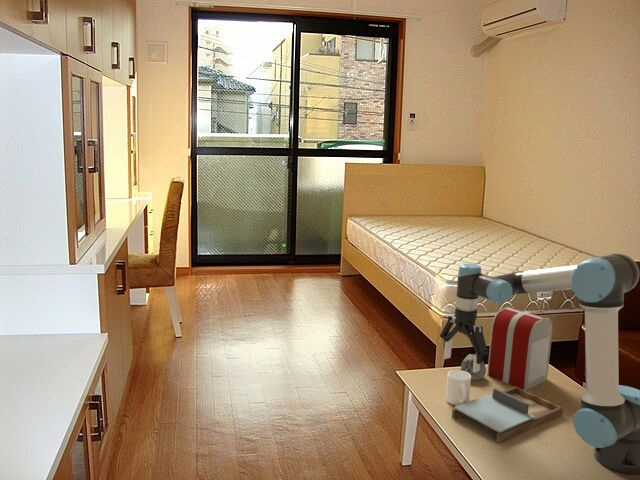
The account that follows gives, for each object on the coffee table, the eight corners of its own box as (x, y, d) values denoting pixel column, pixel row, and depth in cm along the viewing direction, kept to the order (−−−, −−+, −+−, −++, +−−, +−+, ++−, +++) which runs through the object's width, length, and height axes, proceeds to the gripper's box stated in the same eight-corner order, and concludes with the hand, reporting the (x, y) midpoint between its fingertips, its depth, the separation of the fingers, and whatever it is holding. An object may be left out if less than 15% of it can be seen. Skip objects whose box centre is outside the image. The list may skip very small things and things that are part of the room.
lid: (534, 418, 211) (536, 406, 210) (499, 432, 200) (501, 420, 199) (488, 395, 226) (489, 384, 225) (454, 408, 216) (455, 397, 215)
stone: (479, 358, 243) (473, 347, 252) (458, 372, 244) (452, 362, 254) (493, 375, 244) (486, 364, 254) (472, 390, 246) (466, 379, 255)
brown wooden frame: (561, 415, 220) (562, 407, 219) (498, 443, 200) (499, 434, 200) (514, 393, 236) (515, 386, 235) (451, 417, 216) (452, 409, 216)
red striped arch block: (525, 390, 239) (532, 323, 233) (485, 375, 251) (491, 311, 246) (548, 379, 249) (555, 314, 244) (508, 365, 262) (515, 303, 256)
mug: (475, 411, 221) (477, 384, 219) (452, 411, 221) (454, 384, 218) (465, 395, 233) (467, 369, 231) (443, 396, 232) (445, 369, 230)
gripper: (502, 316, 211) (496, 375, 216) (447, 296, 231) (443, 350, 236) (487, 320, 207) (481, 380, 212) (432, 299, 227) (428, 354, 232)
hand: (461, 364), depth 224 cm, fingers open, 13 cm apart
